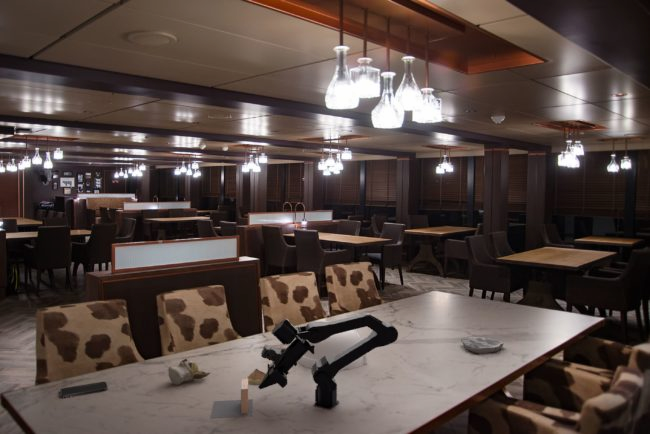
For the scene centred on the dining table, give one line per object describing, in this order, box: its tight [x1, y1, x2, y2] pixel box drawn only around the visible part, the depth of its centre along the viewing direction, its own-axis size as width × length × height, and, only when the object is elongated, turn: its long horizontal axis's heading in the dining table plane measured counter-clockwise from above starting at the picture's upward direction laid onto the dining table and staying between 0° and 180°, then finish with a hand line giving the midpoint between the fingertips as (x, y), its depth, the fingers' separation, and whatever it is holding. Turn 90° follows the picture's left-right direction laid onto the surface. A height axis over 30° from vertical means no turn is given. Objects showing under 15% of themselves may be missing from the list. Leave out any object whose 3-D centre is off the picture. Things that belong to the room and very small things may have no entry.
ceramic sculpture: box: [168, 358, 211, 386], centre depth 189 cm, size 11×9×15 cm
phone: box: [59, 381, 108, 398], centre depth 179 cm, size 8×1×15 cm
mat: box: [210, 398, 254, 419], centre depth 164 cm, size 13×13×1 cm
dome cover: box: [297, 329, 368, 371], centre depth 215 cm, size 32×30×14 cm
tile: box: [240, 378, 249, 414], centre depth 164 cm, size 2×9×8 cm, turn 7°
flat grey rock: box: [460, 336, 504, 355], centre depth 230 cm, size 20×17×3 cm
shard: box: [246, 368, 266, 385], centre depth 191 cm, size 13×9×2 cm
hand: (259, 388), depth 165 cm, fingers closed
